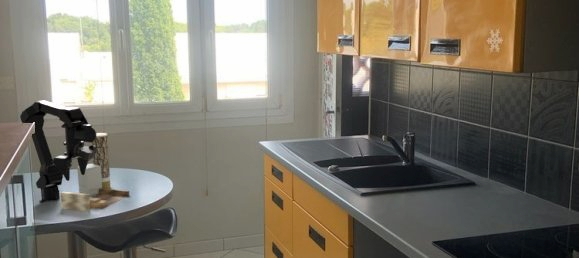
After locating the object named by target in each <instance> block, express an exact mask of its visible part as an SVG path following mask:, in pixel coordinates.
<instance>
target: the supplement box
mask: <svg viewBox="0 0 579 258" xmlns="http://www.w3.org/2000/svg"><path fill="white" fill-rule="evenodd" d="M76 168H77V181H78V193H82V194H89V196H95V195H97V194H99V189H100V188H102V178H101V166H99V165H95V164H93V163H88V164H87V167H86V171H85V174H84V175H82V174H81V172H80V168H79V165H78V166H77V167H76Z"/></svg>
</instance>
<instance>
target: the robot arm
mask: <svg viewBox="0 0 579 258" xmlns="http://www.w3.org/2000/svg"><path fill="white" fill-rule="evenodd" d="M47 114H48V115H51V116H55V117H57V118H58V119H59V121H61V122H62V123H63V124H62V125H61V126H60V127H61V128H62V129H63V128H64V132H65V133H64V134H65V136H64V137H65V141H64V142H63V146H65V150H66V151H65V152H63V155H58V156H55V157H53V156H52V154H51V153H52V152H51V150H50V147H49V143H48V141H47V138H46V135H45V131H44V129H43V127H44V125H45V118H44V117H45V116H46V115H47ZM19 118H20V122H21V124H23V123H33V122H35V133H34V134H32V136H31V139H32V143H33V144H34V147H35V151H36V153H37V157H38V159H39V160H38V161H39V163H40V168H39V171H38V173H39V178H38V179H37V180H36V182H35V185H36V187H37V189H40V193H41V195H40V197H41V199H40V200H38V202H39V203H45V202H54V201H58V200H61V194H60V189H59V186H62V183H63V177H64V179H65V180H66V181H70V178H71V173H70V172H71V167H72V166H73V160H77V163H78V166H79V168H80V172H81V174H82V175H84V174H85V171H86V167H87V164H89V161H90V160H93V156H95V154H96V153H97V152H96V146H95V145H92V142H93V141H94V140H95V138H96V133H97V131H96V130H95V129H94V128H93V127H92V124H89V122H88V119H87V118H86V116H85V115H84V113H83V111H82V110H81V108H80V107H76V106H62V105H60V104H58V103H57V104H56V103H53V102H50V101H48V100H45V99H44V100H43V99H42V100H36V101H35V102H33V104H31V105H30V106H28V107H27V108H25V109H24V110H23V111H21V113H20V117H19ZM85 143H91V145H87V146H86V145H85Z"/></svg>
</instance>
